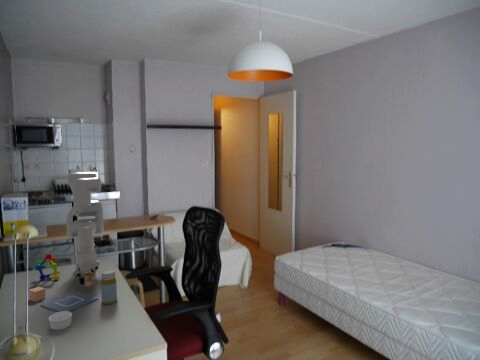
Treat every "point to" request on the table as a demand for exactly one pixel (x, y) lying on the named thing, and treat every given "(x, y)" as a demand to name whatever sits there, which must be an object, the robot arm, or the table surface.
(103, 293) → the bottle
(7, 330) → the table surface
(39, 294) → the terracotta cube
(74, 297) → the board
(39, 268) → the educational toy
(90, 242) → the robot arm
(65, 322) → the ramekin
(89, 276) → the oak block
